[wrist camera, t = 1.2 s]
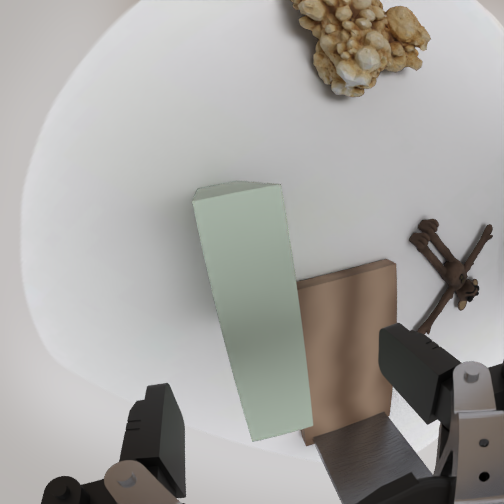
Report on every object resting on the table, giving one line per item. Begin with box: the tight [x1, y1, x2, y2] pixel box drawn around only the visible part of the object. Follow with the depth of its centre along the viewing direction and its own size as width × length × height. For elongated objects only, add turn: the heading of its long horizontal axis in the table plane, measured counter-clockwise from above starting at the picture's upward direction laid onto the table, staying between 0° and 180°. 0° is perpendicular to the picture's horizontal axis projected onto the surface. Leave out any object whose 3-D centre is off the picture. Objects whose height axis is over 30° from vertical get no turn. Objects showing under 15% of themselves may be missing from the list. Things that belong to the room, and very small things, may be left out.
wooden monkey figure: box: [409, 219, 493, 334], centre depth 32 cm, size 18×4×14 cm
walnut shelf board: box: [296, 259, 397, 446], centre depth 33 cm, size 12×22×2 cm, turn 11°
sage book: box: [192, 181, 313, 442], centre depth 21 cm, size 4×13×16 cm, turn 11°
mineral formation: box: [291, 0, 431, 97], centre depth 22 cm, size 8×13×15 cm
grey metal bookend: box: [313, 411, 433, 504], centre depth 28 cm, size 10×1×14 cm, turn 101°
